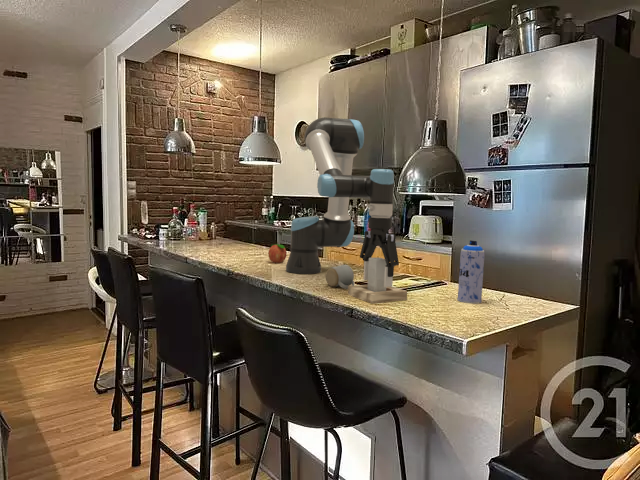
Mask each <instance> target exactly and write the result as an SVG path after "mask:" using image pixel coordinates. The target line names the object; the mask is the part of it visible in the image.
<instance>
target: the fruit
mask: <svg viewBox="0 0 640 480" xmlns="http://www.w3.org/2000/svg"><path fill="white" fill-rule="evenodd" d="M286 258H287V250H286V247H285V245H283V244H279V241H276V243H275V244H269V249H268V259H269V261H270V262H272V263H274V264H281V263H283V262H284V261H285V260H286Z"/></svg>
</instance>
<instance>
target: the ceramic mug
mask: <svg viewBox="0 0 640 480" xmlns="http://www.w3.org/2000/svg"><path fill="white" fill-rule="evenodd" d="M354 274H355V273H354V271H353V269H352V268H351V266H350V265H348V264H342V265H338V266H333V267H330V268H328V269H327V270H326V272H325V280H326V283H327V284H328V285H329V286H330V287H331V288H338V287H341V288H342V289H345V290H348V286H355V281H354V279H355V275H354Z"/></svg>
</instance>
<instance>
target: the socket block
mask: <svg viewBox="0 0 640 480" xmlns="http://www.w3.org/2000/svg"><path fill="white" fill-rule="evenodd" d="M347 286H348V289H347V295H349V296H350V297H351V296H352V297H353V298H356V299H359V300H362V301H363V302H366V301H367V302H366V303H370V304H372V303H373V304H381V303H389V302H390V303H391V302H397V301H407V300H408V291H407V290H404V289H401V288H398V287H394V286H391V287H386V291H381V292H373V291H370V290H368V284H361V285H359V284H358V285H354V286H352V285H347Z"/></svg>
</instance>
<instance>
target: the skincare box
mask: <svg viewBox="0 0 640 480" xmlns="http://www.w3.org/2000/svg"><path fill="white" fill-rule="evenodd" d="M386 265H387V264H386V261H385V258H382V257H371V258H369V265H368V280H367V285H368V290H370V291H373V292H381V291H386V287H384V277H385V266H386Z"/></svg>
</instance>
